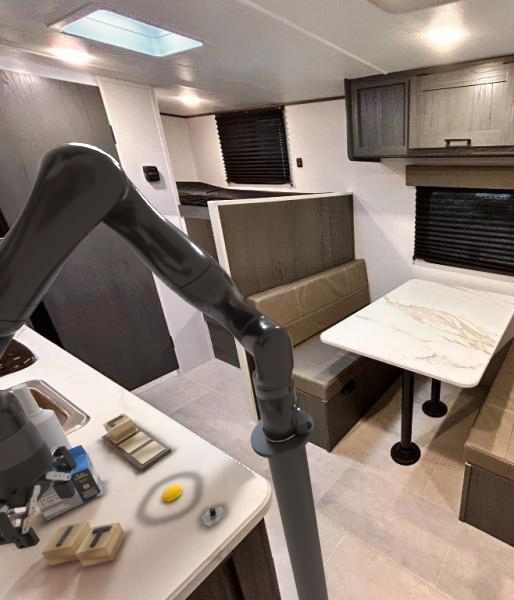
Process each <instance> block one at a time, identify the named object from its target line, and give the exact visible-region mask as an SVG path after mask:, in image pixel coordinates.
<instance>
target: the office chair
mask: <svg viewBox="0 0 514 600" xmlns="http://www.w3.org/2000/svg"><path fill="white" fill-rule="evenodd" d="M223 517H225V512H224V510H223V506H217V507H215V506H211V507H210V508H209V510H206V512H205V514H204V515H203V516H202V517H201V519H202V523H203V524H204V525H205V526H207V527H213V526H215V525H216V524H217V523H218V522H219V521H221V519H222V518H223Z"/></svg>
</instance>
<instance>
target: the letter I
mask: <svg viewBox="0 0 514 600" xmlns="http://www.w3.org/2000/svg"><path fill="white" fill-rule="evenodd" d="M91 528H92V527H91V525H90V524H89V522H88V521H83V522H78V523H72V524H67V525H63V526H59V527H58V528H57V530H56V532H55V533H53V534H54V535H53V536H52V537H51V539H50V540H49V541H48V542H47V544H46V545H45V546H44V548H43V549H42V551H41V554H42V556H43V557H44V559H45V560H46V561H47V562H48V564H49V565H50V566H55V565H60V564H64V563H70V562H74V561H80V560H79V558H78V557H77V555H76V554H75V553H76V552H77V550H78V549H79V547H80V545H81V544H82V542H83V541H84V539H85V537H86V536H87V534H88V533H89V531H90V530H91Z"/></svg>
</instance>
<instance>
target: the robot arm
mask: <svg viewBox="0 0 514 600" xmlns="http://www.w3.org/2000/svg"><path fill="white" fill-rule="evenodd" d="M36 171H37V173H36V177H35V179H34V181H33V184H32V188H31V189H30V193H29V195H28V197H27V199H26V202H25V204H24V206H23V208H22V210H21V212H20V214H19V215H18V217H17V218H16V220H15V221H14V224H13V225H12V226H11V228H10V229H9V230H8V232H6V234H5V235H4V236H3V238H2V239H1V240H0V359H1V358H2V357H3V355H4V353H5V352H6V351H7V349H8V347H9V345H10V344H11V342H12V341H13V338H14V337H15V335H16V334H17V332H18V331H19V330H20V329H21V328H22V327H23V326H24V325H25V323H27V321H28V320H29V319H30V318H31V316H32V315H33V313H34V312H35V310H36V309H37V307H38V306H39V304H40V303H41V302H42V300H43V298H44V297H45V295H46V294H47V293H48V291H49V289H50V288H51V287H52V285H53V283H54V282H55V280H56V278H57V277H58V276H59V274H60V272H61V271H62V269H63V267H64V266H65V265H66V263H67V262H68V260H69V258H70V257H71V256H72V255H73V253H74V252H75V250H77V248H78V247H79V246H80V245H81V243H82V242H83V241H84V240H85V239H86V238H87V236H88V235H90V233H91V232H92V231H94V230H95V228H97V226H99V224H102V225H104V226H105V227H106V228H108V230H110V231H112V233H114V234H116V236H118V237H119V238H120V239H121V240H122V241H123V242H124V243H125V244H126V245H127V246H128V247H129V248H130V249H131V250H132V252H134V254H135V255H136V256H137V257H138V258H139V259H140V260H141V261H142V263H143V264H144V265H145V266H146V267H147V268H148V269H149V271H151V272H152V273H153V274H154V275H155V277H156V278H157V279H159V281H161V282H162V283H163V284H164V285H165V286H166V287H167V288H168V289H170V291H172V292H173V293H174V294H175V295H177V296H178V297H179V298H181V299H182V300H183V301H184V302H186V303H187V304H189V306H191V307H193V308H194V309H196V310H197V311H199V312H200V313H202V314H204V315H206V316H208V317H210V318H212V319H213V320H215V321H216V322H218V323H219V324H221V326H223V327H224V328H225V329H226V330H227V331H228V333H230V334H231V335H232V337H234V339H235V340H236V341H237V342H238V343H239V345H241V346H242V348H243V349H244V350H245V351H246V352H248V353H249V354H250V355H251V356H252V357H253V358H254V362H255V369H254V370H253V372H252V382H253V386H254V391H255V396H256V400H257V405H258V410H259V414H260V419H261V420H262V424H263V434H264V435H265V438H266V440H267V441H268V442H270V443H274V444H280V443H284V442H287V441H289V440H291V439H293V438H294V437H296V436H299V435H300V434H304V433H308V430H309V429H311V427H312V423H311V422H310V421H308V415H307V413H308V411H305V412H301V413H300V410H301V409H300V403H299V396H298V393H297V392H296V387H295V380H294V375H293V370H294V367H295V358H294V357H295V356H294V355H295V354H294V346H293V340H292V335H291V333H290V331H289V329H287V328H286V327H285V326H283V325H282V324H280V323H279V322H277V321H275V320H273V319H272V318H270V317H268V316H267V315H265V314H263V313H262V312H261V311H259V310H258V309H257V308H256V307H254V306H253V305H252V304H251V303H250V302H248V300H247V299H246V298H245V296H243V294H242V293H241V291H240V289H239V288H238V286H237V283H236V282H235V281H234V280H233V278H232V277H231V276H230V275H229V273H228V271H226V270H225V269H224V267H223V266H221V264H220V263H218V262H217V261H216V259H215V258H213V257H212V255H211V254H210V253H208V252H207V250H205V249H204V248H203V247H202V246H201V245H199V244H198V243H197V242H196V241H195V240H193V239H192V238H191V237H190V236H189V235H188V234H186V233H185V232H184V231H182V230H181V229H180V228H179V227H178V226H176V225H175V224H173V223H172V221H170V220H168V218H166V217H165V216H164V215H163V214H162V213H160V212H159V210H157V208H155V207H154V206H153V204H152V203H151V202H150V201H149V200H148V199H147V197H146V196H145V195H144V194H143V193H142V192H141V191H140V190H139V188H137V186H136V185H135V184H134V183H133V182H132V180H131V179H130V178H129V177H128V175H127V173H126V171H125V170H124V168H123V167H122V165H120V163H119V162H118V161H117V160H116V159H115V158H114V157H112V156H111V155H110V154H109V153H107V152H106V151H103V150H102V149H101V148H98V147H96V146H93V145H90V144H86V143H81V142H63V143H58V144H56V145H53V146H51V147H50V148H48V149H47V150H45V152H43V154H41V156H40V158H39V160H38V162H37V167H36ZM261 420H260V421H261ZM308 425H309V426H308ZM63 463H65V464H66V465H64V464H63ZM76 466H77V464H76V462H75V461H74V459H73V458H72V456H71V454H70V453H69V451H68V450H67V448H66V447H65V446H58V447H52V448H49V447H48V446H47V444H46V442H45V440H44V439H43V437H42V435H41V433H40V432H39V430H38V428H37V427H36V425H35V424H34V423H33V422H32V421H31V420H30V419H29V417H28V416H27V414H26V412H25V411H24V409H23V407H22V405H21V403H20V402H19V400H18V399H17V397H16V396H15V394H14V393H13V392H11V391H8V390H4V389H0V546H1V547H2V546H6V545H11V544H14V545H15V547H16V548H17V550H23V549H28V548H31V547H36V546H37V545H38V544H39V543H40V541H41V539H40V536H38V534H37V533H36V530H34V528H33V527H32V526H31V521H32V516H34V515H35V514H36V511H37V502H38V501H39V500H40V498H41V496H42V495H43V493H45V492H46V491H47V490H48V489H49V488H50V484H51V483H54V484H53V486H52V487H53V488H54V490H55V492H56V493H57V495H58V497H59V498H60V499H66V498H72V497H73V496H74V495H75V493H76V492H75V487H74V485H73V484H72V482H71V480H70V478H71V471H72V470H74V469H75V468H76ZM53 467H54V468H55V470H56V471H57V472H53ZM21 508H25V510H24V511H20V512H16V511H15V509H21ZM17 520H20V523H19V526H18V525H17ZM16 525H17V526H16Z"/></svg>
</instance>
